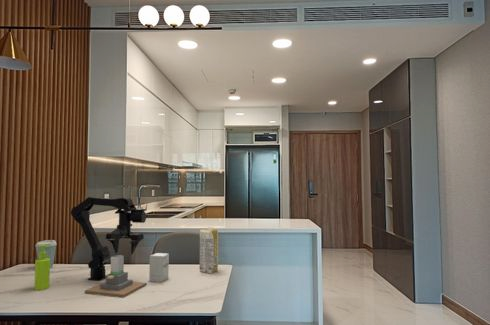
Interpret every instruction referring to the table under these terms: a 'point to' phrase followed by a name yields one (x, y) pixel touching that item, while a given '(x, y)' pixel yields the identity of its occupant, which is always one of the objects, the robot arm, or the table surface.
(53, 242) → the disposable coffee cup
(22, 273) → the table surface
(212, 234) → the juice carton
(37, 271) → the soap dispenser
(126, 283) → the tan base plate
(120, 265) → the block
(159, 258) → the supplement box
